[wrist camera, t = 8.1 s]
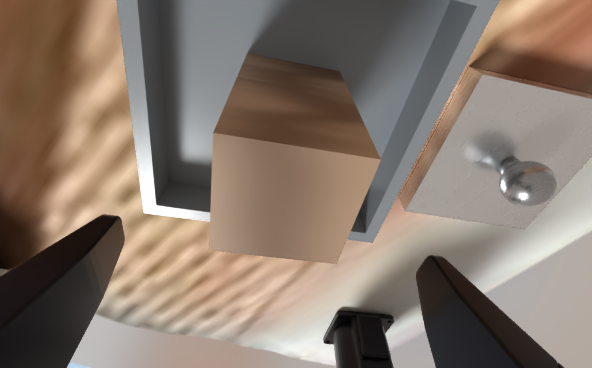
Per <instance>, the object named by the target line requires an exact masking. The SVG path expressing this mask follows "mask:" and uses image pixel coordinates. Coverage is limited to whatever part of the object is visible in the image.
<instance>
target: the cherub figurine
mask: <svg viewBox="0 0 592 368" xmlns="http://www.w3.org/2000/svg"><path fill="white" fill-rule="evenodd" d="M6 272H8V271H7V270H5V269H0V276H1V275H3V274H5V273H6Z"/></svg>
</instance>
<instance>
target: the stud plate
mask: <svg viewBox="0 0 592 368" xmlns="http://www.w3.org/2000/svg"><path fill="white" fill-rule="evenodd" d="M591 157H592V94H588V93H584V92H579V91H575V90H570V89H566V88H562V87H557V86H553V85H548V84H544V83H540V82H535V81H531V80H527V79H522V78H518V77H513V76H509V75H505V74H500V73H496V72H491V71H487V70H483V69H478V68H474V67H469V68H468V69H467V71H466V73H465V75H464V77H463V79H462V81H461V83H460V84H459V86H458V88H457V90H456V92H455V94H454V96H453V98H452V99H451V101H450V103H449V105H448V107H447V109H446V111H445V113H444V115H443V116H442V118H441V120H440V122H439V124H438V126H437V128H436V130H435V131H434V133H433V135H432V137H431V139H430V141H429V143H428V145H427V146H426V148H425V150H424V152H423V154H422V156H421V158H420V160H419V162H418V163H417V165H416V167H415V169H414V171H413V173H412V175H411V177H410V178H409V180H408V182H407V184H406V186H405V188H404V190H403V192H402V193H401V195H400V197H399V199H400V201H401V204H402V206H403V208H404V210H405V211H407V212H413V213H420V214H427V215H434V216H441V217H447V218H454V219H461V220H468V221H475V222H481V223H488V224H495V225H502V226H508V227H515V228H522V229H525V228H526V227H527V226H528V225H529V223H530V222H531V221H532V220H533V219H534V218H535V217H536V216H537V215H538V214H539V213H540V212H541V210H542V209H543V208H544V207H545V206H546V205H547V204H548V203H549V202H550V201H551V200H552V199H553V198H554V196H555V195H556V194H557V193H558V192H559V191H560V190H561V189H562V188H563V187H564V186H565V185H566V184H567V182H568V181H569V180H570V179H571V178H572V177H573V176H574V175H575V174H576V173H577V172H578V171H579V169H580V168H581V167H582V166H583V165H584V164H585V163H586V162H587V161H588V160H589V159H590V158H591Z"/></svg>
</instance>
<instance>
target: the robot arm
mask: <svg viewBox="0 0 592 368" xmlns="http://www.w3.org/2000/svg"><path fill="white" fill-rule="evenodd" d="M124 241H125V236H124V231H123V226H122V221H121V218H120V217H119V216H114V215H106V214H105V215H101V216H99V217H97V218H96V219H94V220H92V221H91V222H89V223H87V224H86V225H84V226H82V227H81V228H79V229H78V230H76V231H74V232H73V233H71V234H69V235H68V236H66V237H64V238H63V239H61V240H59V241H58V242H56V243H54V244H53V245H51V246H49V247H48V248H46V249H44V250H43V251H41V252H39V253H38V254H36V255H35V256H33V257H31V258H30V259H28V260H26V261H25V262H23V263H21V264H20V265H18V266H16V267H15V268H13V269H11V270H10V271H8V272H6V273H5V274H3V275H1V276H0V368H67V366H68V364H69V362H70V360H71V358H72V356H73V355H74V353H75V351H76V349H77V347H78V345H79V343H80V341H81V339H82V337H83V335H84V334H85V332H86V330H87V328H88V326H89V324H90V322H91V320H92V318H93V316H94V314H95V313H96V311H97V309H98V307H99V305H100V303H101V301H102V299H103V296H104V294H105V292H106V289H107V287H108V284H109V282H110V279H111V276H112V274H113V271H114V269H115V266H116V263H117V261H118V258H119V256H120V253H121V250H122V248H123V245H124ZM416 281H417V286H418V292H419V298H420V304H421V310H422V315H423V321H424V325H425V330H426V333H427V337H428V341H429V344H430V348H431V351H432V355H433V358H434V362H435V366H436V368H564V367H563V366H562V365H561V364H559V363H557V361H556V360H555V359H554V358H553V357H552V356H551V355H550V354H548V353H547V352H546V351H545V350H544V349H543V348H542V347H541V346H540V345H539V344H538V343H536V342H535V341H534V340H533V339H532V338H531V337H530V336H529V335H528V334H527V333H526V332H525V331H523V330H522V329H521V328H520V327H519V326H518V325H517V324H516V323H515V322H514V321H512V320H511V319H510V318H509V317H508V316H507V315H506V314H505V313H504V312H503V311H502V310H500V309H499V308H498V307H497V306H496V305H495V304H494V303H493V302H492V301H491V300H490V299H488V298H487V297H486V296H485V295H484V294H483V293H482V292H481V291H480V290H479V289H478V288H476V287H475V286H474V285H473V284H472V283H471V282H470V281H469V280H468V279H467V278H466V277H464V276H463V275H462V274H461V273H460V272H459V271H458V270H457V269H456V268H455V267H454V266H452V265H451V264H450V263H449V262H448V261H447V260H446V259H445V258H443V257H441V256H434V255H430V256H428V257H427V258H426V259H425V261H424V262H423V263H422V265H421V266H420V268H419V269H418V270H417V273H416ZM393 322H394V319H393V316H388V315H378V314H367V313H356V312H346V311H339V312H337V314H336V315H335V317H334V319H333V321H332V323H331V325H330V327H329V329H328V331H327V332H326V334H325V336H324V338H323V340H324V343H325V344H334V349H335V358H336V366H337V368H393V364H392V361H391V355H390V351H389V347H388V343H387V339H386V335H385V333H386V332H387V330H388V329H389V328H390V326H391V325H392V324H393Z"/></svg>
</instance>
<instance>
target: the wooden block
mask: <svg viewBox="0 0 592 368" xmlns="http://www.w3.org/2000/svg"><path fill="white" fill-rule="evenodd" d="M380 161H381V158H380V156H379V154H378V152H377V150H376V147H375V145H374V143H373V141H372V139H371V137H370V135H369V133H368V130H367V128H366V126H365V124H364V122H363V120H362V118H361V116H360V113H359V111H358V109H357V107H356V105H355V103H354V101H353V98H352V96H351V94H350V92H349V90H348V88H347V86H346V84H345V81H344V79H343V77H342V75H341V73H340V71H337V70H332V69H327V68H321V67H316V66H311V65H306V64H301V63H296V62H291V61H286V60H281V59H276V58H271V57H266V56H261V55H255V54H250V53H247V55H246V57H245V59H244V62H243V64H242V66H241V69H240V71H239V73H238V76H237V78H236V80H235V83H234V85H233V87H232V90H231V92H230V94H229V97H228V99H227V101H226V104H225V106H224V108H223V111H222V113H221V115H220V118H219V120H218V122H217V125H216V127H215V129H214V132H213V149H212V179H211V210H210V240H209V250H211V251H221V252H230V253H239V254H248V255H258V256H267V257H276V258H285V259H295V260H304V261H313V262H323V263H332V264H337V262H338V259H339V257H340V255H341V252H342V250H343V248H344V245H345V243H346V241H347V238H348V236H349V234H350V231H351V229H352V227H353V224H354V222H355V220H356V217H357V215H358V213H359V210H360V208H361V206H362V203H363V201H364V199H365V196H366V194H367V192H368V189H369V187H370V185H371V182H372V180H373V178H374V175H375V173H376V170H377V168H378V166H379V163H380Z"/></svg>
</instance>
